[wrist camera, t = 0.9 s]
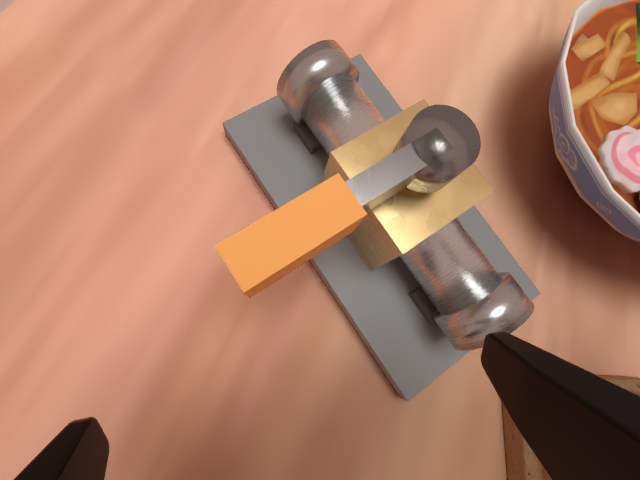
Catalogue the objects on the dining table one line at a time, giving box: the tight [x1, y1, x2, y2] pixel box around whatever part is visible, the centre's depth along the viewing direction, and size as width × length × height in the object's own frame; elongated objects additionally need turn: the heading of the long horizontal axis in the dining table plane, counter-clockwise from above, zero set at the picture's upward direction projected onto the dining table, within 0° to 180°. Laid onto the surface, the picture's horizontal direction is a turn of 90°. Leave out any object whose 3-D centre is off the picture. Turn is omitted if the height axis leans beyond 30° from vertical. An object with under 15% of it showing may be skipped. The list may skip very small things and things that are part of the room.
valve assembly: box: [223, 40, 540, 401], centre depth 21 cm, size 22×12×8 cm, turn 34°
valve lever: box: [215, 105, 480, 298], centre depth 15 cm, size 12×3×3 cm, turn 124°
